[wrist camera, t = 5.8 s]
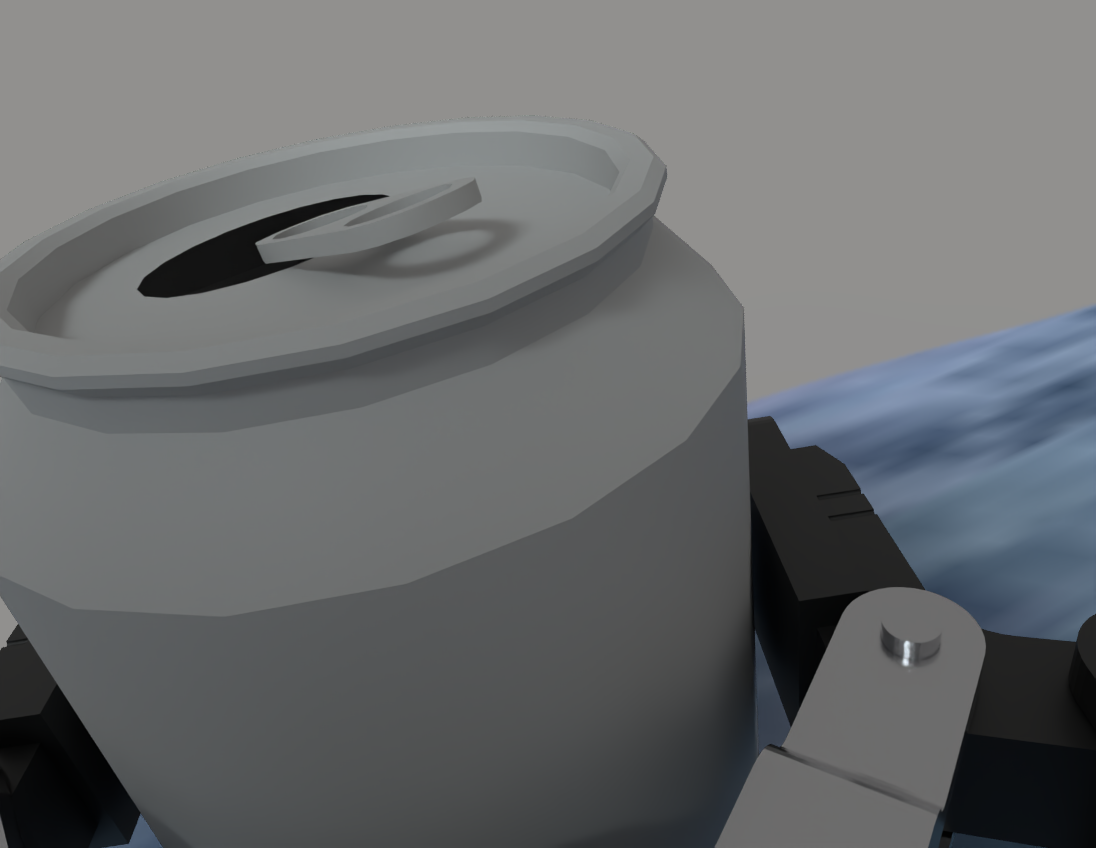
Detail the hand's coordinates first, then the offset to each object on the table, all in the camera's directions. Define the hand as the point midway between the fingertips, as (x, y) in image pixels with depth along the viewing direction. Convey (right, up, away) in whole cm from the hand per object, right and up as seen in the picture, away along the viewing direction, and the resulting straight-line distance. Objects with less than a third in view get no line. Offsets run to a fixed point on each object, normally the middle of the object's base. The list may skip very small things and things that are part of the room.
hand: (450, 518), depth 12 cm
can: (+1, -7, +2) cm, 7 cm away
